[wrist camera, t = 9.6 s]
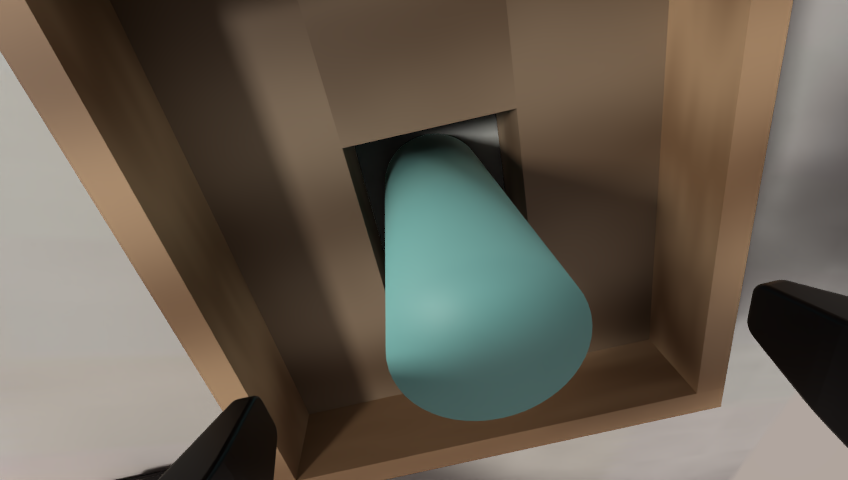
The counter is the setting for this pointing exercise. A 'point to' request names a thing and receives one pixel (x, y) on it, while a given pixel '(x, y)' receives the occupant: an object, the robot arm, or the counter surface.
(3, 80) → the counter surface
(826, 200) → the counter surface
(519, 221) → the peg
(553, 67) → the box
